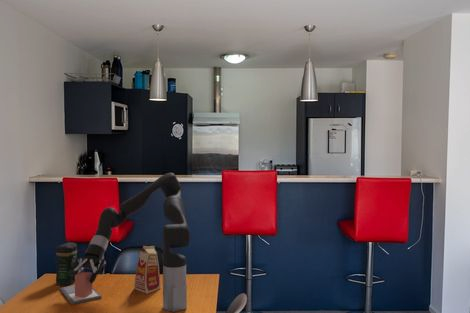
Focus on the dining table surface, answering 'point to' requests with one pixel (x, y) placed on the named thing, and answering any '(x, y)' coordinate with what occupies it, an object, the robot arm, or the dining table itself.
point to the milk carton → (147, 271)
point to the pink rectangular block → (83, 284)
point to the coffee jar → (65, 263)
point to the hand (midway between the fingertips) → (81, 281)
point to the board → (70, 295)
